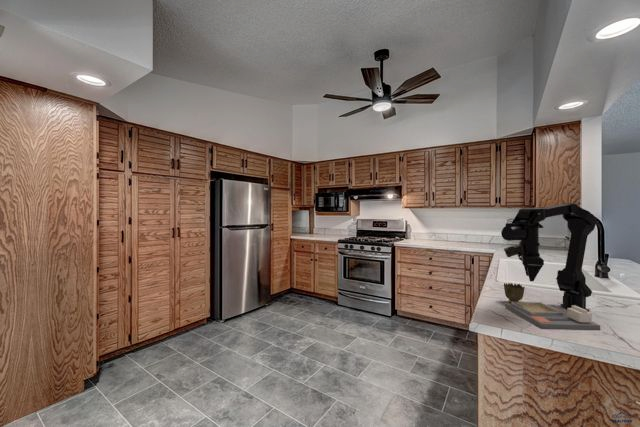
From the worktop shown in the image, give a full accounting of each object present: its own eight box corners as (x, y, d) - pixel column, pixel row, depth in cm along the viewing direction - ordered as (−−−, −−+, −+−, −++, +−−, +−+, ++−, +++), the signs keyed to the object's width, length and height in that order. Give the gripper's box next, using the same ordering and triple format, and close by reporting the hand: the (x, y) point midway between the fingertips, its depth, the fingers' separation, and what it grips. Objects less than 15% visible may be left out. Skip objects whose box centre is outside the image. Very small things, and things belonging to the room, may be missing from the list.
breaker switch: (578, 316, 100) (579, 305, 100) (591, 322, 95) (591, 310, 95) (567, 316, 100) (567, 305, 100) (579, 322, 95) (579, 310, 95)
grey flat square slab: (553, 308, 113) (553, 304, 113) (600, 329, 93) (600, 325, 93) (506, 307, 114) (506, 303, 114) (541, 328, 94) (542, 323, 94)
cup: (528, 306, 115) (528, 287, 115) (508, 305, 116) (508, 286, 116) (518, 300, 122) (519, 283, 122) (500, 299, 124) (500, 282, 124)
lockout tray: (540, 305, 113) (540, 302, 113) (564, 316, 101) (564, 312, 101) (511, 304, 113) (511, 301, 113) (531, 315, 102) (531, 312, 102)
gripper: (503, 236, 121) (503, 271, 121) (506, 241, 105) (507, 281, 105) (535, 237, 115) (535, 274, 116) (544, 242, 99) (544, 285, 100)
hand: (529, 278), depth 109 cm, fingers open, 9 cm apart
